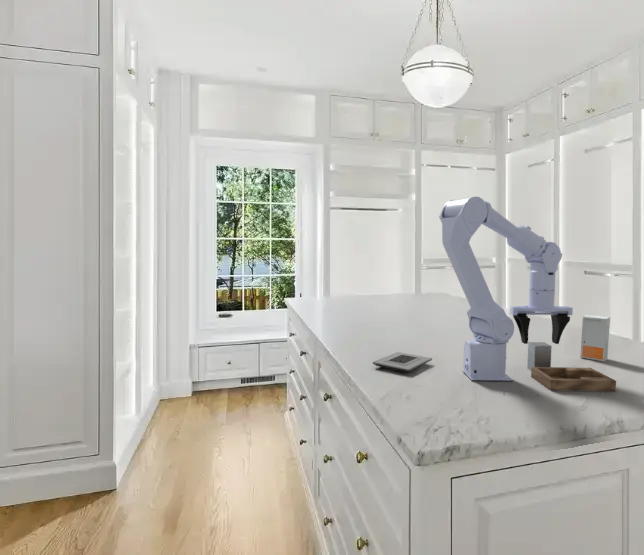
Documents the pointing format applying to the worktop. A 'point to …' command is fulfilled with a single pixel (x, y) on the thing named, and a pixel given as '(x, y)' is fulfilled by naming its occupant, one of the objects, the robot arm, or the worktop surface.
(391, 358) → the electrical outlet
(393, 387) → the worktop surface
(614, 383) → the wooden tray
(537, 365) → the metal peg
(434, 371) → the worktop surface
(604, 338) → the skincare box
